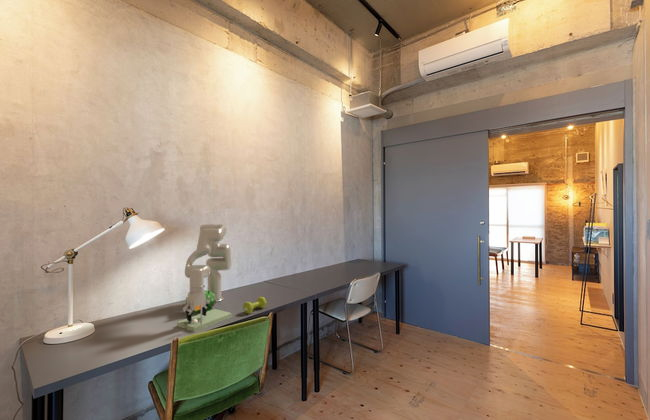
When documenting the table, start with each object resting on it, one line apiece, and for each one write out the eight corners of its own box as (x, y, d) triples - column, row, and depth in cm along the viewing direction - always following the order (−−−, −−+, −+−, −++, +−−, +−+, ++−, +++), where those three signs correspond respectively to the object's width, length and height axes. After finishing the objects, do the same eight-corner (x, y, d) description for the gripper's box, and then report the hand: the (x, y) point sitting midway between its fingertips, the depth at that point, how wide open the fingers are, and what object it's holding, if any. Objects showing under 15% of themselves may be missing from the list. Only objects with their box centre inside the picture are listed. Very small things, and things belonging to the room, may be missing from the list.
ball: (194, 324, 174) (188, 326, 170) (195, 317, 174) (189, 319, 171) (199, 325, 172) (193, 327, 168) (199, 318, 172) (193, 320, 169)
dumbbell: (250, 315, 189) (250, 304, 189) (241, 312, 193) (241, 301, 193) (267, 307, 203) (267, 297, 202) (259, 305, 207) (259, 295, 207)
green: (177, 326, 171) (177, 302, 171) (214, 312, 193) (214, 291, 193) (194, 332, 162) (194, 306, 162) (231, 317, 185) (231, 295, 185)
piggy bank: (187, 309, 199) (186, 287, 199) (215, 306, 206) (215, 284, 205) (185, 316, 186) (185, 293, 186) (215, 313, 192) (215, 290, 192)
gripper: (205, 284, 182) (205, 312, 182) (179, 291, 167) (179, 321, 167) (213, 286, 178) (213, 314, 178) (187, 294, 163) (187, 324, 164)
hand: (196, 318), depth 173 cm, fingers open, 9 cm apart
